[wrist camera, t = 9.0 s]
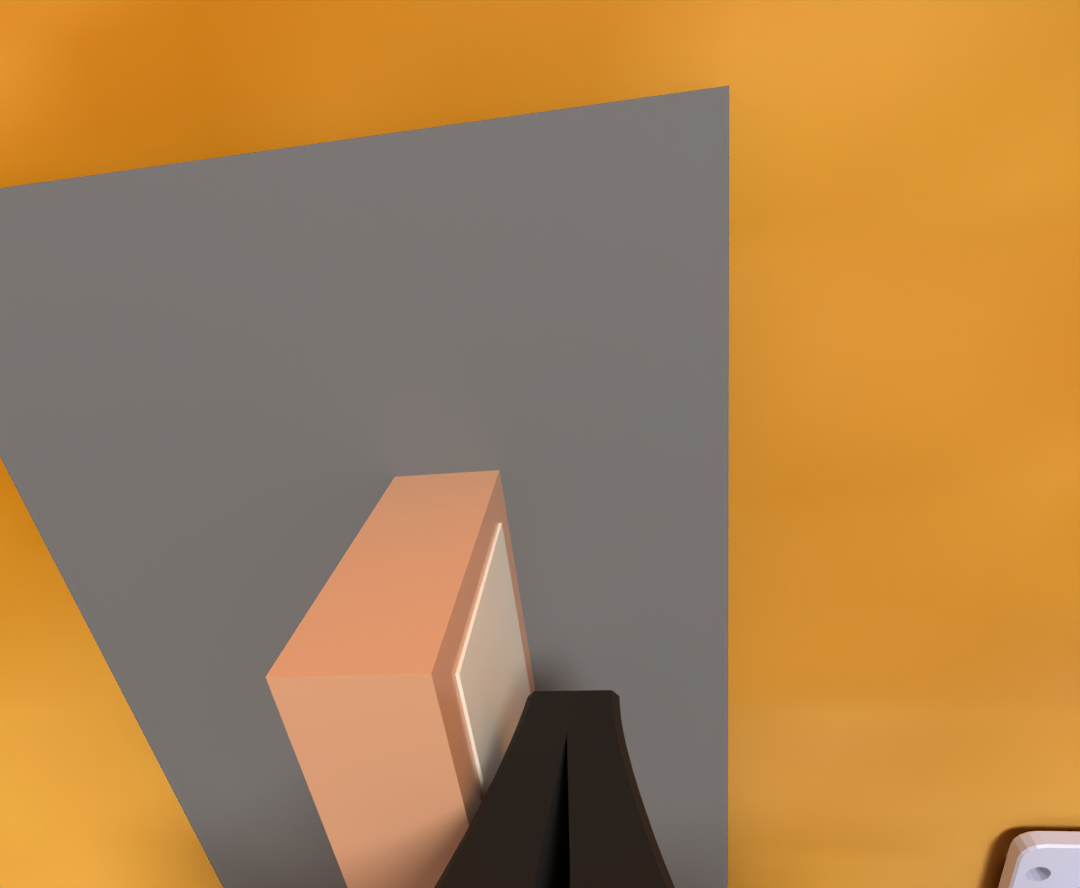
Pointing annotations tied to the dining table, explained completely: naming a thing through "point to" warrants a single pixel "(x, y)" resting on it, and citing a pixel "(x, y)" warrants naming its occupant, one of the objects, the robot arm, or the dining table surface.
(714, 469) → the mat
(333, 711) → the tile
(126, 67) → the dining table surface
